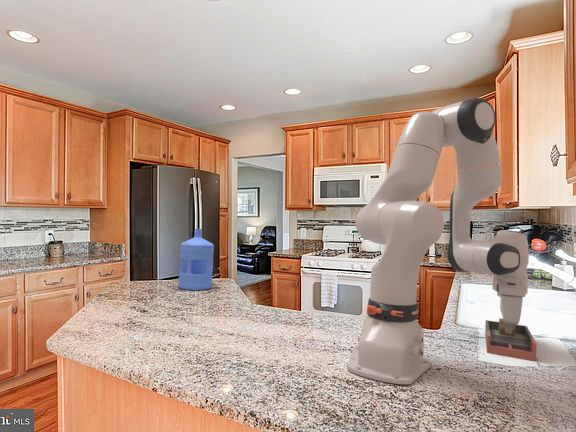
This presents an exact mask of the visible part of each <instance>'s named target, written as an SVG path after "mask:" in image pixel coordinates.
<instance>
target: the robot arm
mask: <svg viewBox="0 0 576 432" xmlns="http://www.w3.org/2000/svg"><path fill="white" fill-rule="evenodd" d="M495 124H496V113H495V109H494V106H493V105H492V103H490V102H489V101H488V100H486V99H485V98H484V97H483V98H482V97H474V98H468V99H465V100H463V101H459V102H454V103H451V104H447V105H444V106H441V107H439V108H436V109H434V110H433V111H420V112H417V113H414V114H413V115H412V116H410V118H409V119H408V121H407V122H406V124H405V126H404V127H403V130H402V132H401V134H400V137H399V139H398V141H397V144H396V147H395V149H394V150H395V151H394V153H393V156H392V158H391V159H392V160H391V162H390V165H389V169H388V171H387V174H386V176H385V178H384V179H383V181H382V183H381V185H380V186H379V187H378V189H377V191H376V192H375V194H374V195H373V197H372V198H371V199H370V201H369V202H368V203H367V204H366V205H365V206H363V207H362V208H361V209H360V210H359V211H358V213H357V215H356V218H355V228H356V230H357V232H358V234H359V235H360V236H361V237H362V238H364V239H365V240H367V241H369V242H372V243H375V244H380V245H381V244H382V245H384V249H383V253H382V255H381V258H380V259H379V261H377V262H376V263H374V265H372V267H371V271H370V295H369V296H370V297H368V302H367V304H366V305H367V306H366V314H367V316H365V317H364V318H363V322H362V323H363V324H362V327H361V332H360V336H358V339H357V341H358V345H354V346H353V349H352V351H351V355H350V357H349V360H348V363H347V371H349V372H351V373H353V374H355V375H357V376H361V377H362V378H363V377H364V378H367V379H370V380H371V379H372V380H375V381H379V382H384V383H388V384H389V383H390V384H397V385H412V384H413V383H414V382H415V381H417V379H418V378H420V377H421V376H422V375H423V374H424V373H425V372H427V370H428V369H430V368H431V367H432V361H431V360H430V359H428V358H426V357H425V355H424V354H425V353H424V352H425V351H424V348H425V344H424V343H425V342H424V341H425V339H424V338H425V336H424V333H425V331H424V327H422V326H421V324H420V322H419V321H418V320H417V319H418V318H419V317H418V316H419V315H418V314H419V304H418V303H417V294H418V293H417V292H418V291H417V290H418V279H419V272H420V267H421V264H422V262H423V260H424V257H425V255H426V254H427V252H428V250H429V249H430V248H431V247H432V246H433V245H434V244H435V243H437V242H438V241H439V240H440V238H441V236H442V235H443V232H444V228H445V221H444V216H443V214H442V211H441V210H440V209H439V208H438V206H436V205H435V204H432V203H430V202H426V201H421V200H420V201H419V200H418V198H420V196H421V195H423V194H424V193H425V192H427V190H429V189H430V187H431V186H432V184H433V181H434V177H435V175H436V171H437V168H438V164H439V162H440V161H439V160H440V158H441V154H442V149H443V148H446V147H453V149H454V150H455V153H456V154H455V155H456V156H455V157H456V159H455V160H456V171H457V181H456V187H455V188H454V190H453V191H452V193H451V196H450V201H449V202H450V203H449V239H448V246H447V250H446V251H447V252H446V257H447V262H448V263H449V265H450V266H451V268H452V269H453V270H454V271H457V272H460V273H475V274H480V275H489V276H492V290H493V291H495V292H496V293H497V294H496V295H497V297H500V298H499V299H500V300H499V302H500V305H499V306H500V307H499V308H500V313H501V316H502V319H503V321H504V323H505V333H508V334H512V327H513V324H517V325H520V321H521V316H522V309H523V299H524V298H525V297H526V296H527V294H528V287H529V286H528V283H529V276H528V271H527V270H528V269H527V268H528V265H529V263H530V262H529V261H530V260H529V259H530V258H529V257H530V256H529V252H530V251H529V245H528V244H529V242H528V239H527V236H526V235H525V234H524V233H523V232H520V231H516V230H515V231H514V230H508V229H506V230H505V229H503V230H499V231H497V232H496V235H495V236H494V237H493V238H491V239H488V240H473V238H471V213H472V210H473V209H474V207H475V206H476V205H477V204H479V203H480V202H483V201H484V200H485V201H486V199H488V198H490V197H492V196H493V195H494V194H495V193H496V192H498V190H499V188H500V187H501V185H502V183H503V182H502V181H503V171H502V161H501V157H500V151H499V148H498V145H497V140H496V138H495V135H494V133H493V132H494V131H493V130H494V129H495Z"/></svg>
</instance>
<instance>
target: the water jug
mask: <svg viewBox="0 0 576 432" xmlns="http://www.w3.org/2000/svg"><path fill="white" fill-rule="evenodd" d="M202 230H203V229H202V228H195V229H194V236H193V238H190V239H188V240H186V241H184V242H181V243H180V247H179V248H180V251H179V252H180V253H179V257H180V262H179V263H180V265H179V272H178V273H179V275H178V282H177V284H178V285H177V286H178V288H179V289H181V290H185V291H206V290H209V289H212V287H213V270H214V254H215V253H214V251H215V249H214V247H215V245H214V244H213V243H212V242H210V241H208V240H206V239H204V238H203V237H202V234H203V233H202Z"/></svg>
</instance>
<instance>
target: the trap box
mask: <svg viewBox="0 0 576 432" xmlns="http://www.w3.org/2000/svg"><path fill="white" fill-rule="evenodd" d="M484 328H485V329H484V336H485V346H486V353H487V354H493V355H499V356H505V357H508V358H509V357H510V358H517V359H521V360H525V361H526V360H527V361H531V362H537V346H538V345H537V342H536V339H535V338H534V336H533V335H532V333H531V331H530V329H529V328H528V326H527V325H525V324H515V337H513V336H507V335H500V334H499V321H495V320H488V319H485V327H484Z"/></svg>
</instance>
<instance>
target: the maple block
mask: <svg viewBox="0 0 576 432" xmlns="http://www.w3.org/2000/svg"><path fill="white" fill-rule="evenodd" d="M498 322H499V334H500V335H507V336H513V337H515V324H513V327H512V334H508V333H505V323H504V321H503V318H501V317H500V318H498Z"/></svg>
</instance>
